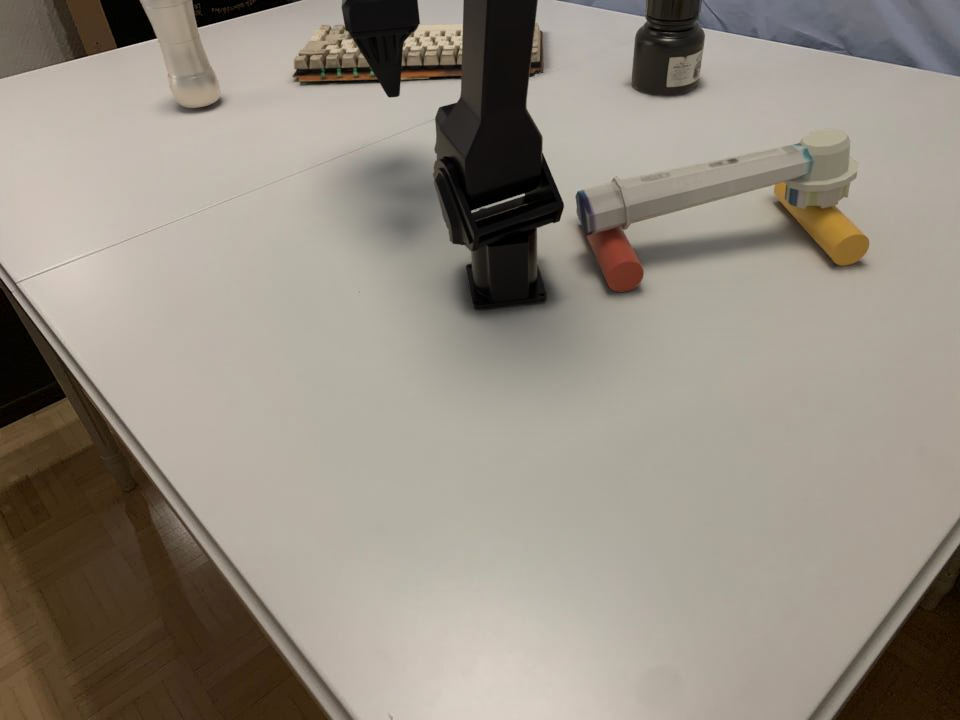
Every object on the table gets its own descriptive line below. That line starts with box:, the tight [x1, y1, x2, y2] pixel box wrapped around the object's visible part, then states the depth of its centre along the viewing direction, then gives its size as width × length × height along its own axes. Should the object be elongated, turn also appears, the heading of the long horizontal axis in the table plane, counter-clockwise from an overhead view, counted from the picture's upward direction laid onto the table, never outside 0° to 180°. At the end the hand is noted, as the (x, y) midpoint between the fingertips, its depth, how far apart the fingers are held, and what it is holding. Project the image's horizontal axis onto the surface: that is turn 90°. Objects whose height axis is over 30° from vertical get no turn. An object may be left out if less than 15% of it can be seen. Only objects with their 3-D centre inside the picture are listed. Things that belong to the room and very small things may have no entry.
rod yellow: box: [773, 182, 870, 266], centre depth 66 cm, size 12×3×3 cm, turn 7°
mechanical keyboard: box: [292, 22, 544, 83], centre depth 108 cm, size 38×19×3 cm, turn 87°
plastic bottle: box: [139, 0, 221, 109], centre depth 94 cm, size 6×7×20 cm
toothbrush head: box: [575, 128, 860, 237], centre depth 63 cm, size 5×7×25 cm
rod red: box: [575, 208, 645, 293], centre depth 65 cm, size 12×3×3 cm, turn 7°
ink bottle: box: [631, 0, 706, 95], centre depth 92 cm, size 10×9×12 cm
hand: (392, 79), depth 70 cm, fingers open, 9 cm apart
